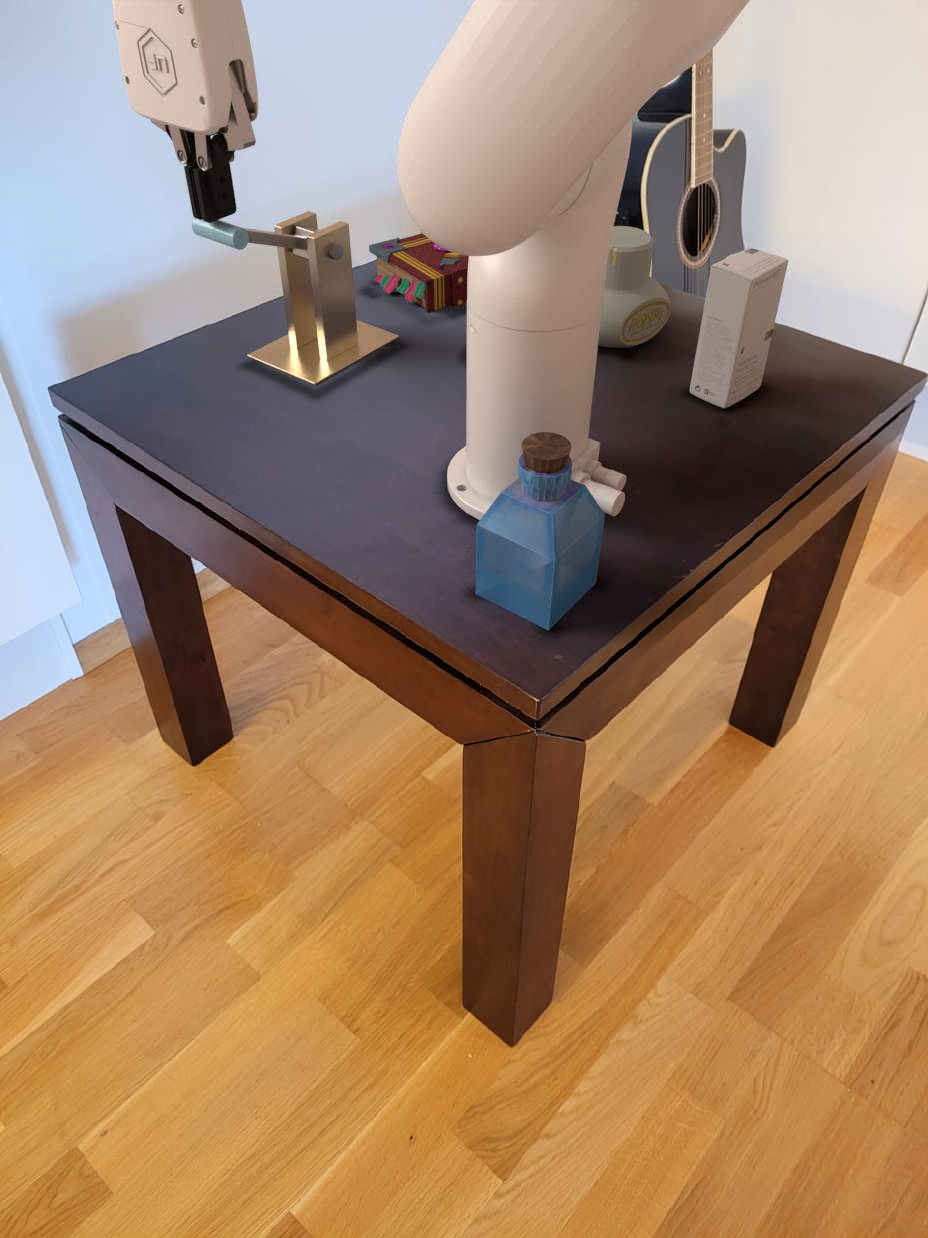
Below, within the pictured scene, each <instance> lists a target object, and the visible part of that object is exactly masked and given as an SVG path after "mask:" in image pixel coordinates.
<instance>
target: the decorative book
mask: <svg viewBox="0 0 928 1238" xmlns="http://www.w3.org/2000/svg"><path fill="white" fill-rule="evenodd" d="M368 252H369V253H370V254H372V255H374V256H375V257H376V270H377V272H376V273H377V274H374V275H371V276H370V278H372V279H373V280H374V281H375V282H376V283H378V284H379V286H380V287H381V288H382V291H384V292H385V293H387V294H388V295H390V294H391V292H393V291H394V289H395V290H396V292H399V293H400V294H402V295H404V299H405V300H406V301H407V302H409V303H411V304H413V302H415V303H417V304H418V305H420V306H421V307H422V308H424V309H425V312H426V313H428V314H429V313H431V312H435V311H438V310H441V309H444V308H447V307H451V306H452V307H456V306H459V305H462V304H465V303H467V276H468V261H469V256H466V255H461V254H457V253H454V252H451V251H448V250H446V249H444V248H442V247H440V246H439V245H437V244H435V243H434V242H433V241H431V240H430V239H429V238H428V237H427V236H425V235H424V234H423V233H422V232H421V230H420V229H419V233H418V234H414V235H410V236H406V237H402V238H400V237H395V238H391V239H387V240H384V241H379V242H375V243H372V244H369V245H368Z"/></svg>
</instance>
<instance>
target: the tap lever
mask: <svg viewBox="0 0 928 1238" xmlns="http://www.w3.org/2000/svg"><path fill="white" fill-rule="evenodd" d="M191 230H192V232H193V233H194V234H195V235H196V236H198V237H202V238H204V239H207V240H210V241H213V242H216V243H218V244H221V245H223V246H227V247H230V248H232V249H236V250H238V251H241V250H244V249H246V248H247V246H248V244H255V245H263V246H271V247H277V246H278V247H286V248H293V252H292V254H294V255H297V256H300V257H303V258H306V259H309V255H308V246H307V237H306V236H307V235H310V234H312V233H314V232H317V231H319V230H320V229H319V228H318V229H312V228H305V227H299V226H297V227H296V233H295V235H291V234H284V233H277V232H275V231H269V230H262V229H255V228H250V227H249V228H248V227H242V226H238V225H235V224H233V223H229V222H227V221H223V220H222V219H219V220H216V221H214V222H211V223H208V222H205V221H203V219H202V220H200V219H197V218H195V217H194V216H193V219H192V221H191Z"/></svg>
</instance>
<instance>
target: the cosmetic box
mask: <svg viewBox="0 0 928 1238" xmlns="http://www.w3.org/2000/svg"><path fill="white" fill-rule="evenodd" d="M788 264H789V259H788V258H786V257H783V256H780V255H776V254H773V253H769V252H766V251H763V250H759V249H755V248H753V247H747V248H745V249H743V250H741V251H738V252H735V253H732V254H730V255H728V256H726V257H725V258H724V259H722V260H720V261H717V262H715V263H713V264H712V265H711V266H710V270H709V276H708V281H707V287H706V292H705V299H704V304H703V311H702V317H701V323H700V328H699V333H698V339H697V346H696V351H695V355H694V356H695V357H694V361H693V368H692V375H691V377H690V378H691V380H690V385H689V393H690V394H691V395H693V396H694V397H697V398H698V399H701V400H703V401H705V402H707V403H709V404H712V405H715V406H717V407H719V408H722V409H727V408H729V407H731V406H733V405H735V404H736V403H738V402H740V401H742V400H744V399H745V398H747V397H748V396H750V395H751V394H753V393H754V392H756V391H757V390H759V389H760V388H761V385H762V382H763V377H764V373H765V368H766V365H767V359H768V356H769V351H770V346H771V343H772V337H773V333H774V328H775V323H776V319H777V314H778V310H779V307H780V306H779V305H780V301H781V297H782V293H783V288H784V281H785V279H786V274H787V270H788V269H787V268H788Z"/></svg>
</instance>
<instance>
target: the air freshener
mask: <svg viewBox="0 0 928 1238" xmlns="http://www.w3.org/2000/svg"><path fill="white" fill-rule="evenodd" d="M654 243H655V240H654V238H653V236H652V235H651V234H650V233H649V232H648V231H646V230H643V229H642V228H639V227H633V226H627V225H614V227H613V232H612V238H611V243H610V250H609V257H608V264H607V272H606V281H605V290H604V299H603V307H602V313H601V322H600V332H599V341H598V347H603V348H607V349H629V348H633V347H635V346H638V345H640V344H644V343H646V342H647V341H649V340H650V339H652V338H653V337H655V336H656V335H657V334H658V333H660V331H661V330H662V329H663V328H664V326H665V325H666V324H667V322H668V321H669V318H670V315H671V311H672V310H671V309H672V308H671V307H672V305H671V300H670V297H669V295H668V292H667V290H665V288H664V287H663V286H662V285H661V283H660V282H658V280H656V279H655V278H653V277H651V276H650V275H651V267H652V261H653V260H652V259H653V253H654V245H655V244H654Z"/></svg>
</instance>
